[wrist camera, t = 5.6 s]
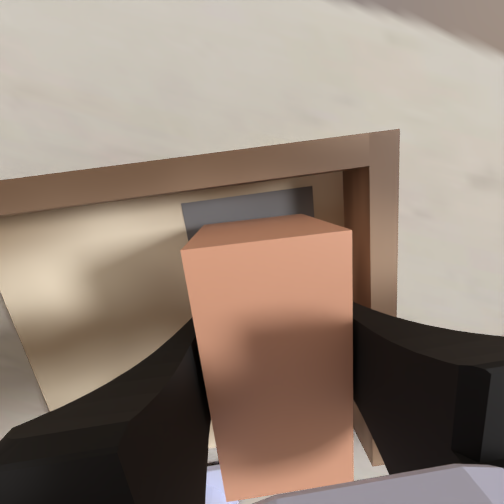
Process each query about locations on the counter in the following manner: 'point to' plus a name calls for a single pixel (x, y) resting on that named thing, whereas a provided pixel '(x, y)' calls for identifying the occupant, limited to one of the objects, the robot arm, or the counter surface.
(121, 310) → the tray
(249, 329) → the terracotta bar
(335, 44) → the counter surface
